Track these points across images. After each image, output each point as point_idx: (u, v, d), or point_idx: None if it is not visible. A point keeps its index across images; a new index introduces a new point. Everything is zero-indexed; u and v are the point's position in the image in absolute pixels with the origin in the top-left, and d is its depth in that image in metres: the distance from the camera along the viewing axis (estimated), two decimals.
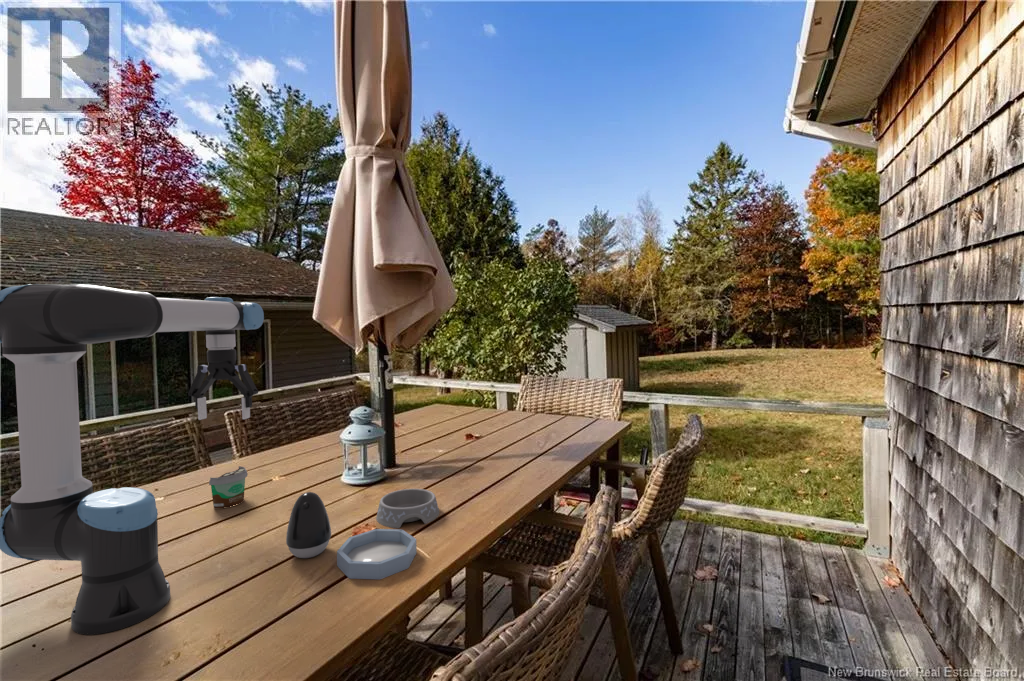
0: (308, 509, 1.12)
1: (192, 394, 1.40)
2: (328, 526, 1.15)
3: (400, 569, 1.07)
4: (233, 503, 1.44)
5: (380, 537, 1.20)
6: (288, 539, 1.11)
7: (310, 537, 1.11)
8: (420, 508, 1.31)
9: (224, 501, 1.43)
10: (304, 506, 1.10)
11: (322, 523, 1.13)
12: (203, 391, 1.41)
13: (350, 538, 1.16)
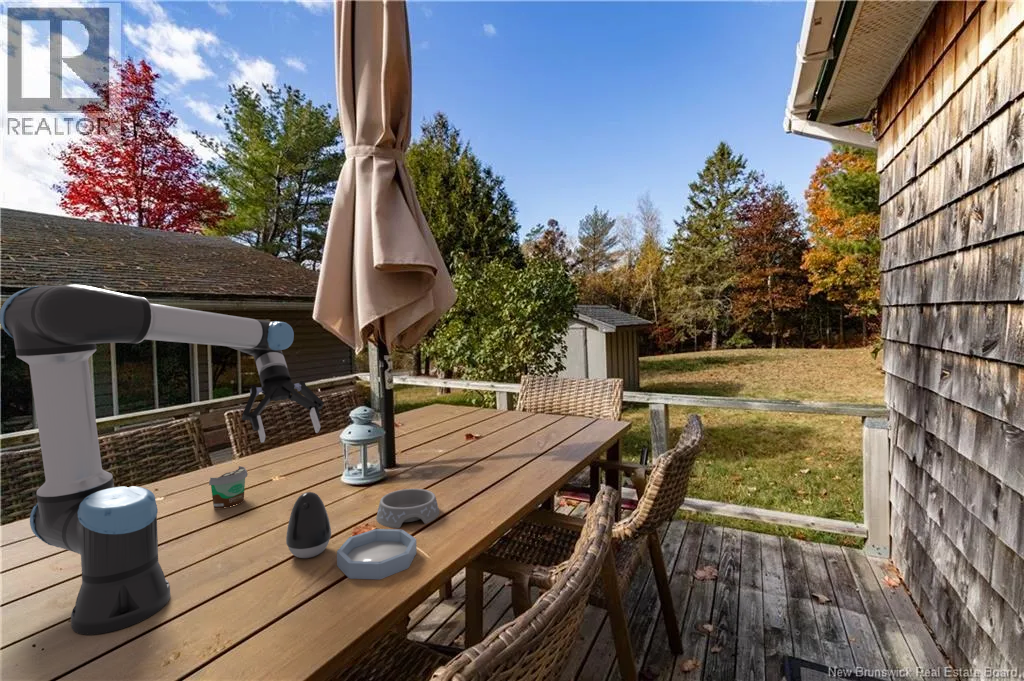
0: (308, 509, 1.12)
1: (248, 414, 1.20)
2: (328, 526, 1.15)
3: (400, 569, 1.07)
4: (233, 503, 1.44)
5: (380, 537, 1.20)
6: (288, 539, 1.11)
7: (310, 537, 1.11)
8: (420, 508, 1.31)
9: (224, 501, 1.43)
10: (304, 506, 1.10)
11: (322, 523, 1.13)
12: (260, 411, 1.23)
13: (350, 538, 1.16)
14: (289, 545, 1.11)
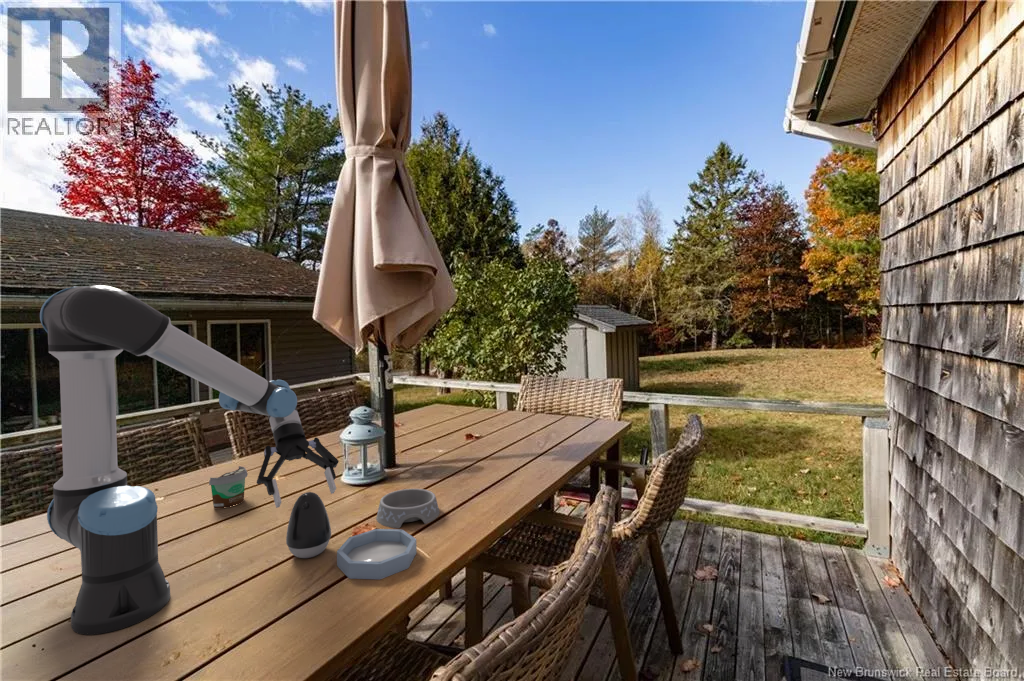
0: (308, 509, 1.12)
1: (263, 477, 1.17)
2: (328, 526, 1.15)
3: (400, 569, 1.07)
4: (233, 503, 1.44)
5: (380, 537, 1.20)
6: (288, 539, 1.11)
7: (310, 537, 1.11)
8: (420, 508, 1.31)
9: (224, 501, 1.43)
10: (304, 506, 1.10)
11: (322, 523, 1.13)
12: (275, 473, 1.20)
13: (350, 538, 1.16)
14: (289, 545, 1.11)
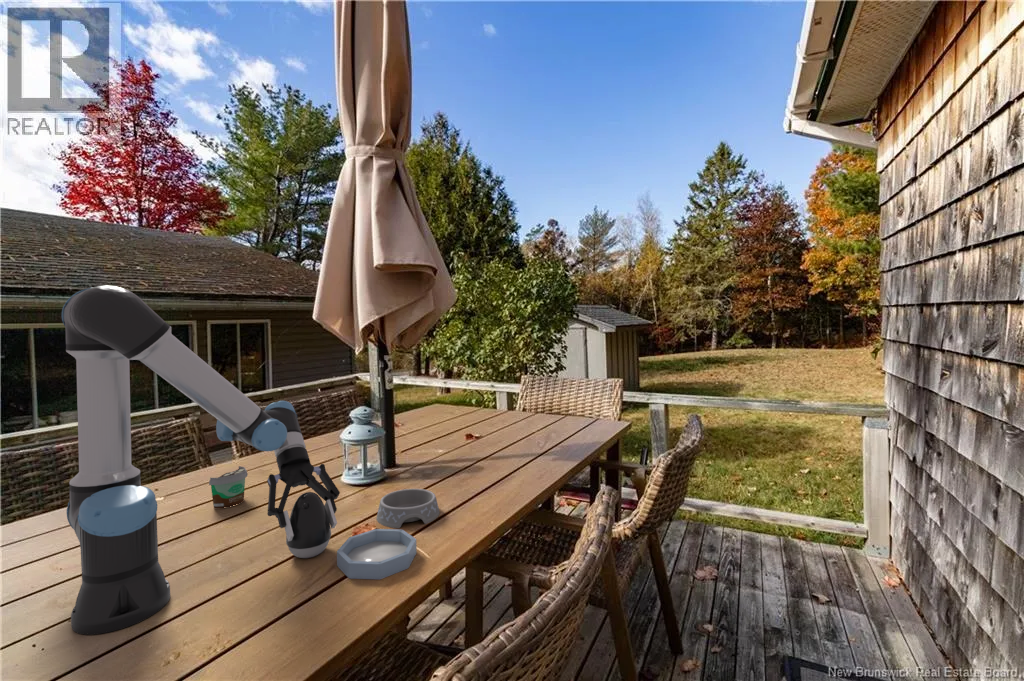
0: (308, 509, 1.12)
1: (274, 509, 1.11)
2: (328, 526, 1.15)
3: (400, 569, 1.07)
4: (233, 503, 1.44)
5: (380, 537, 1.20)
6: None
7: (310, 537, 1.11)
8: (420, 508, 1.31)
9: (224, 501, 1.43)
10: (304, 506, 1.10)
11: (322, 523, 1.13)
12: (285, 503, 1.14)
13: (350, 538, 1.16)
14: (289, 545, 1.11)
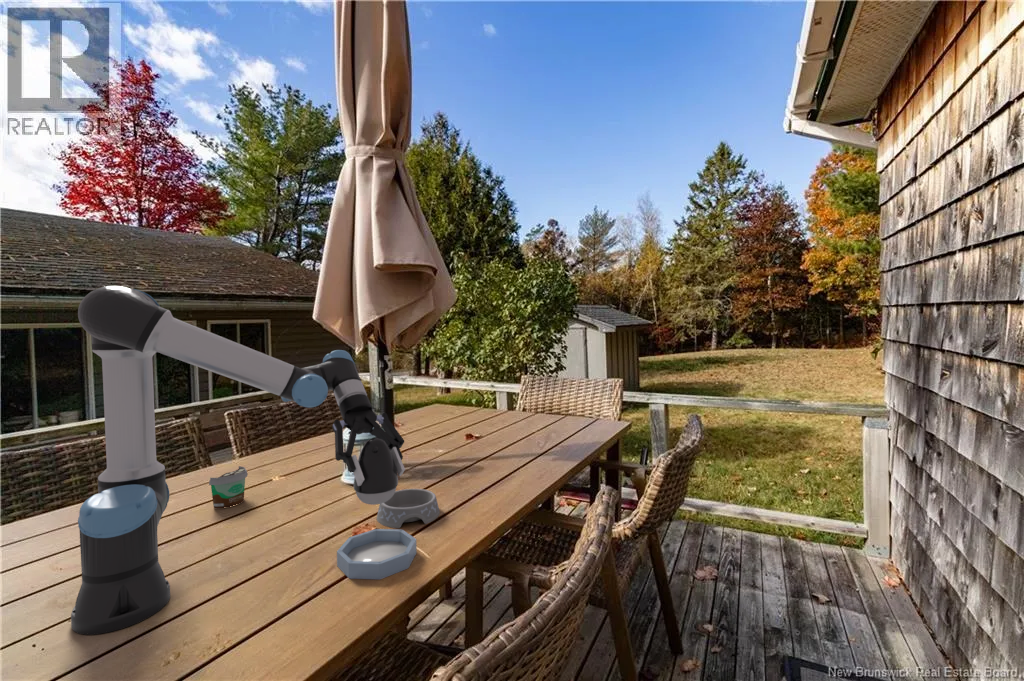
0: (377, 453, 1.08)
1: (343, 453, 1.08)
2: (396, 473, 1.12)
3: (400, 569, 1.07)
4: (233, 503, 1.44)
5: (380, 537, 1.20)
6: None
7: (380, 482, 1.07)
8: (420, 508, 1.31)
9: (224, 501, 1.43)
10: (374, 449, 1.06)
11: (391, 468, 1.10)
12: (352, 448, 1.10)
13: (350, 538, 1.16)
14: (358, 490, 1.07)
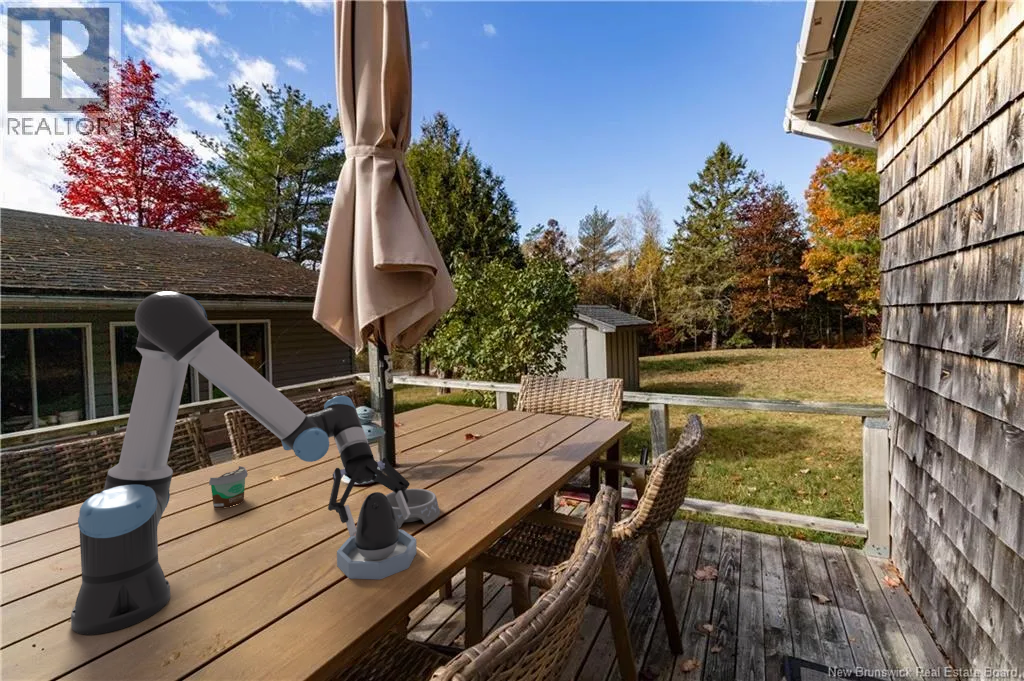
0: (377, 509, 1.09)
1: (335, 503, 1.07)
2: (396, 527, 1.12)
3: (400, 569, 1.07)
4: (233, 503, 1.44)
5: None
6: (358, 541, 1.09)
7: (381, 538, 1.08)
8: (420, 509, 1.31)
9: (224, 501, 1.43)
10: (374, 506, 1.07)
11: (391, 523, 1.10)
12: None
13: (350, 538, 1.16)
14: (359, 547, 1.08)
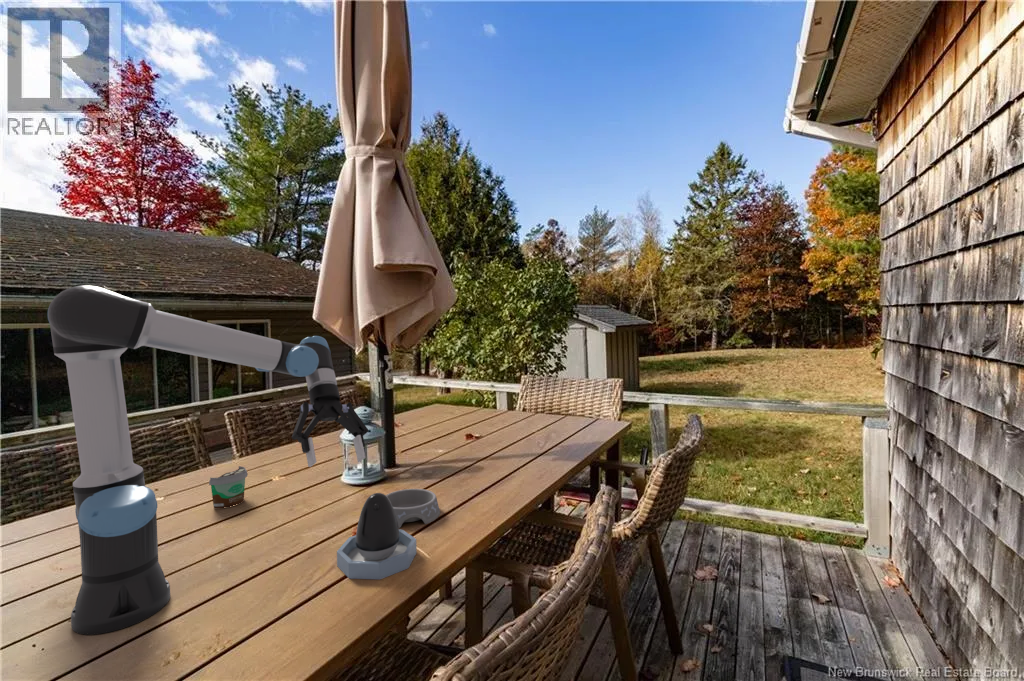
0: (379, 510, 1.09)
1: (300, 434, 1.15)
2: (397, 528, 1.12)
3: (400, 569, 1.07)
4: (233, 503, 1.44)
5: None
6: (359, 541, 1.08)
7: (382, 539, 1.08)
8: (420, 508, 1.31)
9: (224, 501, 1.43)
10: (376, 507, 1.07)
11: (392, 524, 1.10)
12: (310, 431, 1.18)
13: (350, 538, 1.16)
14: (360, 547, 1.08)
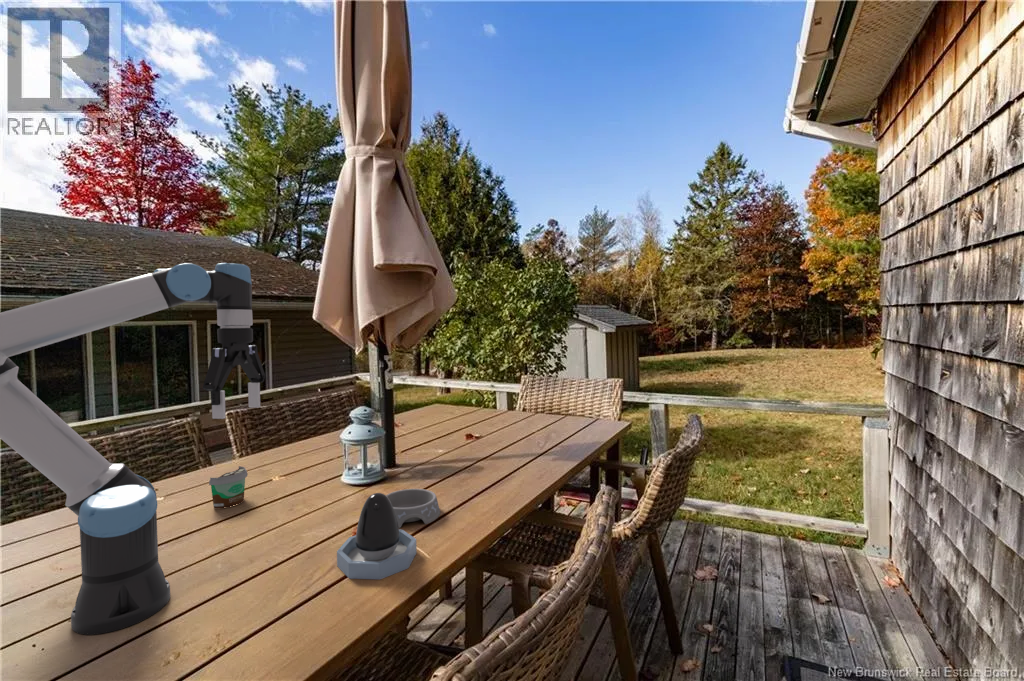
0: (379, 510, 1.09)
1: None
2: (397, 528, 1.12)
3: (400, 569, 1.07)
4: (233, 503, 1.44)
5: None
6: (359, 541, 1.08)
7: (382, 539, 1.08)
8: (420, 509, 1.31)
9: (224, 501, 1.43)
10: (376, 507, 1.07)
11: (392, 524, 1.10)
12: None
13: (350, 538, 1.16)
14: (360, 547, 1.08)
